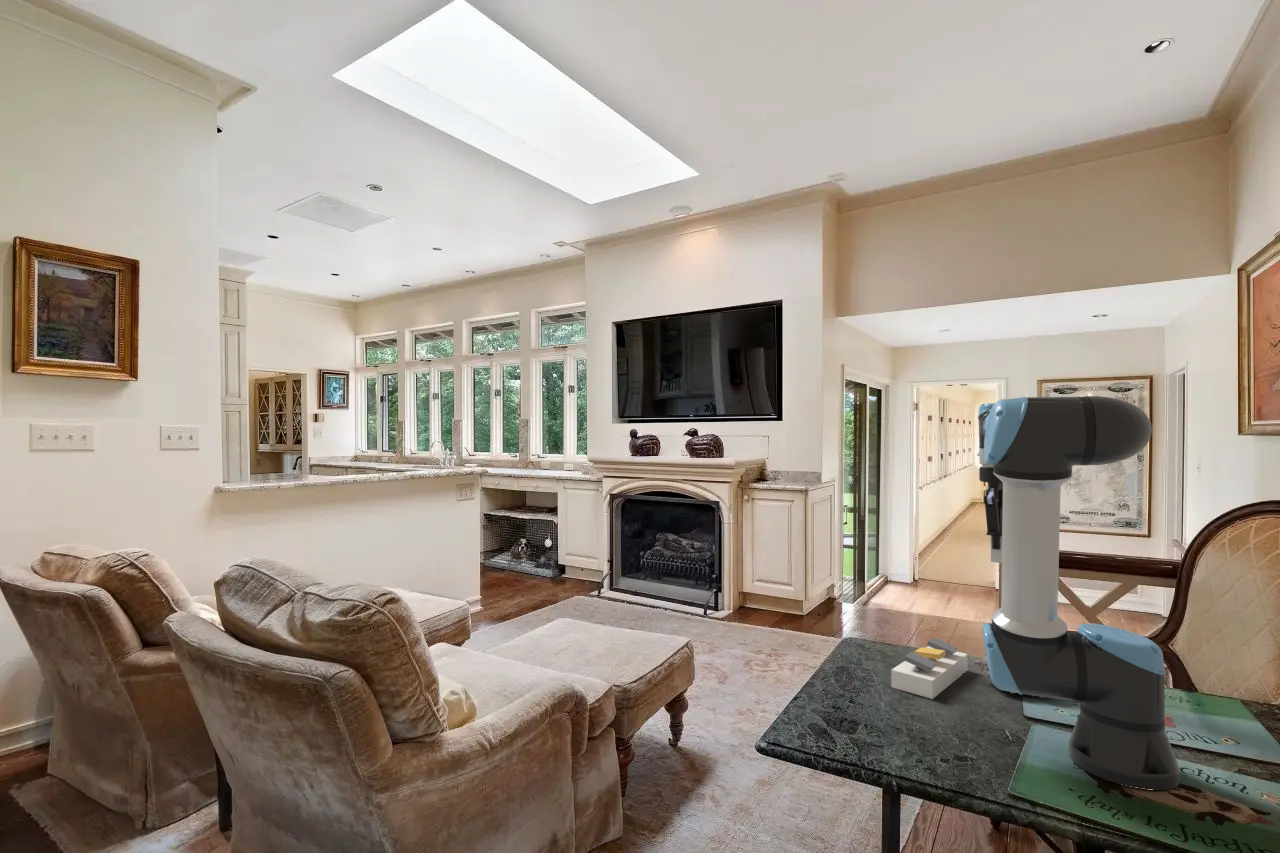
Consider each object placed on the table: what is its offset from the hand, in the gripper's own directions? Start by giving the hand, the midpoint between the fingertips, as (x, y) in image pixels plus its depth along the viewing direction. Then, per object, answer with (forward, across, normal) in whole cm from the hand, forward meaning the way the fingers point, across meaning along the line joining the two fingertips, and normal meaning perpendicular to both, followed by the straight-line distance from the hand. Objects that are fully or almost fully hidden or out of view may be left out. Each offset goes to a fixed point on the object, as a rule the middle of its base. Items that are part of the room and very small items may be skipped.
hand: (997, 562), depth 151 cm
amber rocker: (+22, +17, -10) cm, 29 cm away
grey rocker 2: (+22, +10, -10) cm, 26 cm away
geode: (+27, +9, +7) cm, 29 cm away
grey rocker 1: (+22, +24, -10) cm, 34 cm away
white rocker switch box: (+26, +14, -10) cm, 32 cm away
